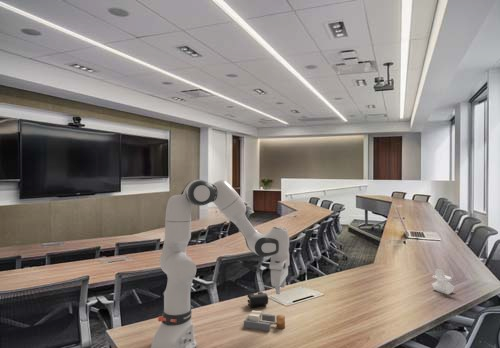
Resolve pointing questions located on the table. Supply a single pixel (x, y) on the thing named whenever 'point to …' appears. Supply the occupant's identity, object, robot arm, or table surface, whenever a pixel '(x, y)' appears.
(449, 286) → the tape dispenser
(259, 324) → the tray
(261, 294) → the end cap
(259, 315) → the corded block
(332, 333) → the table surface
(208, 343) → the table surface
